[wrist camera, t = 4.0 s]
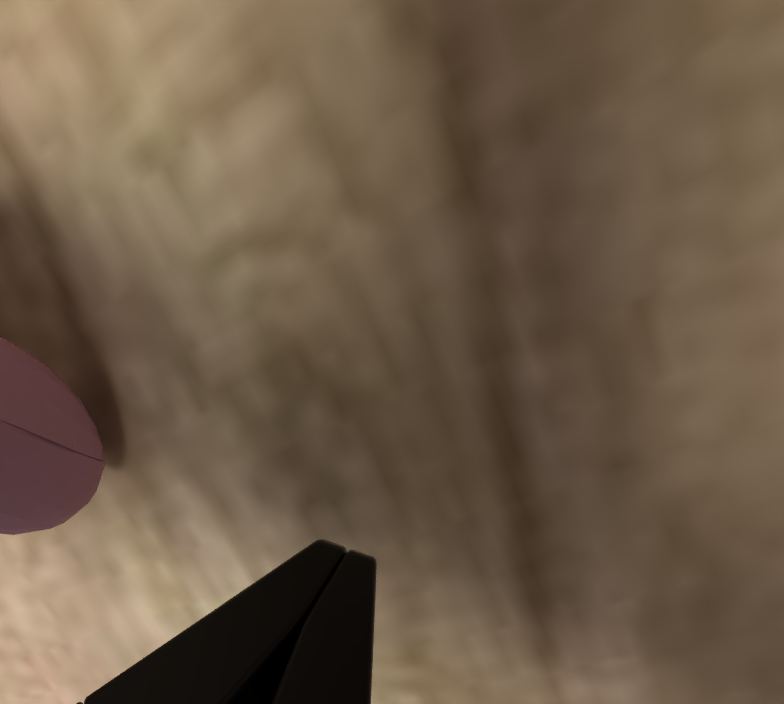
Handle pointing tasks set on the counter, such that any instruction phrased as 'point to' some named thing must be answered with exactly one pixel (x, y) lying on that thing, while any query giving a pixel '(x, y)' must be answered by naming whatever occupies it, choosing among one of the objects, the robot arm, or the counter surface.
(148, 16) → the counter surface
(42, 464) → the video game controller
